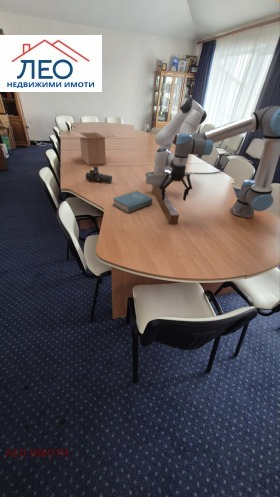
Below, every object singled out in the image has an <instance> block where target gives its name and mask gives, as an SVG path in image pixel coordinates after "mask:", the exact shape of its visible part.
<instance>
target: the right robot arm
mask: <svg viewBox="0 0 280 497" xmlns="http://www.w3.org/2000/svg"><path fill="white" fill-rule="evenodd" d="M259 131H263V133H262V139H263V140H264V142H263V146H262V151H261V155H260V160H259V165H258V169H257V173H256V177H255V180H254V179H245V180H243V182H242V184H241V186H240V189H239V192H238V196H237V199H236V201H235V202H234V203H233V205H232V206H231V207H230V213H231V214H233V215H234V216H236V217H239V218H243V219H250V218H253V217H254V214H255V211H256V212H263V211H267V210H268V209H270V207H272V205H273V203H274V196H272V194H273V190H274V188H273V186H272V182H273V180H274V175H275V172H276V168H277V165H278V161H279V158H280V105H270V106H266V107H264V108H261V109H259V110H256V111H254V112H251V113H250V114H249V115H248V116H245V117H243V118H240V119H236V120H235V121H231V122H229V123H226V124H223V125H220V126H218V127H217V126H216V127H215V128H212V129H210V130H209V129H208V130H206V131H203V132H201V133H194V134H193V135H192V136H191V135H190V134H186V133H180V134H179V133H177V136H176V141H175V146H174V147H175V148H174V153H173V154H174V160H173V163H174V164H173V167H172V172H171V173H168V172H167V173H166V175H165V177H164V179H163V181H162V182H161V184H160V185H159V188H160V189H162V190H161V195H162V200H163V201H164V198H165V193H166V189H167V188H168V187H169V186H170V185H171V184H172V183H173V182H181V183H182V184H183V186H184V191H183V195H182V196H183V197H182V200H183V202H184V201H185V202H186V199H187V196H188V195H189V192H190V191H191V190H193V186H192V181H191V178H190V177H191V173H190V172H189V173H186V168H187V163H188V158H189V155H196V156H210V155H211V154H212V152H213V150H214V144H216V143H219V142H222V141H226V140H229V139H231V138H233V137H237V136H239V135H243V134H246V133H248V132H251V133H255V132H259ZM170 176H171V178H170V179H169V180H168V181H167V179H168V177H170ZM184 178H186V181H187V183H186V182H185V180H184ZM166 181H167V182H166ZM165 182H166V183H165Z"/></svg>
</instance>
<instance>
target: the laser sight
mask: <svg viewBox="0 0 280 497" xmlns="http://www.w3.org/2000/svg"><path fill="white" fill-rule="evenodd" d="M85 179H86V180H87V181H90V182H91V181H92V182H99V183H110V184H111V183H112V181H113V175H108V174H104V173H100V171H99V167H97V166H93V170H92V169H89V172H88V171H87V172H86V173H85Z"/></svg>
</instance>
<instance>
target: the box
mask: <svg viewBox="0 0 280 497" xmlns="http://www.w3.org/2000/svg"><path fill="white" fill-rule="evenodd" d="M70 133H71V134H72V135H74V136H75V137H77V138H79V144H80V153H81V160H83V162H85V163H86V165H87V166H95V165H97V166H98V165H106V163H107V162H106V158H107V157H106V138H113V137H114V136H113V135H111V134H109V133H108V132H105V131H98V132H96V131H95V130H92V129H91V130H77V132H76V131H70Z"/></svg>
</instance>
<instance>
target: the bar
mask: <svg viewBox="0 0 280 497" xmlns="http://www.w3.org/2000/svg"><path fill="white" fill-rule="evenodd" d="M159 185H160V184H154V185H153V187H155V189H151V190H152V192H153V194H154V197H155V198H156V199H157V201H158V204H159V206H160V207H161V209H162V212H163V213H164V215H165V217H166V219H167V222H168V224H170V225H178V222H179V217H180V214H179V212H178V211H177V209H176V207H175V206H174V205H173V203H172V201H171V200H170V197H168V195H167V193H166V192H165V198H164V201H163V200H162V195H161V190H162V189H160V188H159Z"/></svg>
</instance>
